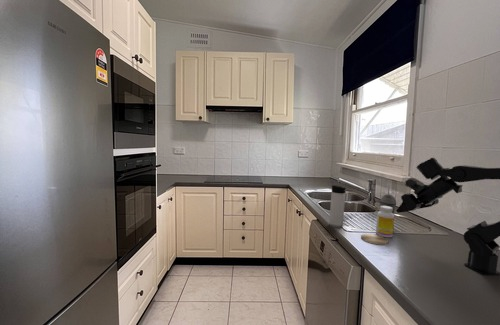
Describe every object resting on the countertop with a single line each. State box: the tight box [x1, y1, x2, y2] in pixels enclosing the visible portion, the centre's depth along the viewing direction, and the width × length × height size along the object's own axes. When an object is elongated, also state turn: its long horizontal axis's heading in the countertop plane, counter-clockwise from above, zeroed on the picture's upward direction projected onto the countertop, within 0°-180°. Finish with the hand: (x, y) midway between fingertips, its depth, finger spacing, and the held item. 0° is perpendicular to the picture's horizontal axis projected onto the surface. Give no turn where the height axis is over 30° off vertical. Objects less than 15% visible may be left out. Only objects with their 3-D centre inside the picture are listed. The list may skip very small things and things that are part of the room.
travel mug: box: [328, 184, 346, 229], centre depth 119 cm, size 6×7×20 cm
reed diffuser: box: [379, 185, 397, 214], centre depth 123 cm, size 7×7×20 cm
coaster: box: [360, 233, 389, 246], centre depth 104 cm, size 10×10×1 cm
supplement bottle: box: [375, 206, 395, 238], centre depth 109 cm, size 7×7×13 cm
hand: (403, 210), depth 102 cm, fingers open, 9 cm apart
